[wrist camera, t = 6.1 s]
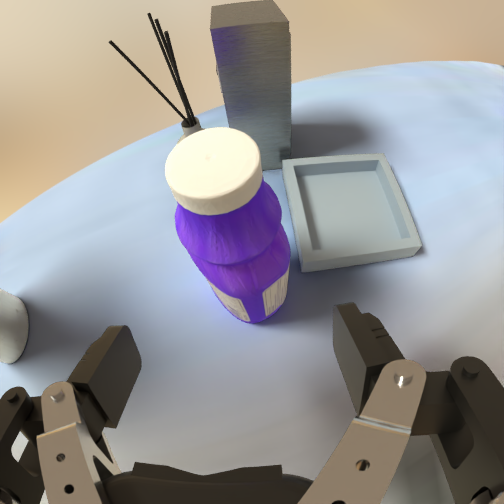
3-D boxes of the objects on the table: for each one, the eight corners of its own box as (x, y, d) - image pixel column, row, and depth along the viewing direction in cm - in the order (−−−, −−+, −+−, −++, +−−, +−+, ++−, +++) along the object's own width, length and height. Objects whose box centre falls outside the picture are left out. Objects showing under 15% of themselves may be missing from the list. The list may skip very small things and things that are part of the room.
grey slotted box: (235, 174, 33) (206, 30, 17) (231, 130, 37) (208, 7, 21) (297, 166, 33) (300, 21, 17) (285, 124, 36) (281, -1, 20)
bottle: (298, 299, 26) (324, 168, 11) (250, 339, 25) (200, 258, 9) (249, 245, 29) (217, 94, 13) (202, 280, 28) (120, 151, 12)
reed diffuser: (238, 185, 32) (203, 14, 14) (181, 210, 32) (106, 50, 14) (208, 134, 37) (173, -3, 19) (160, 154, 36) (105, 23, 18)
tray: (301, 273, 27) (303, 262, 25) (282, 174, 33) (282, 160, 30) (412, 256, 27) (422, 245, 25) (378, 167, 32) (383, 153, 30)
